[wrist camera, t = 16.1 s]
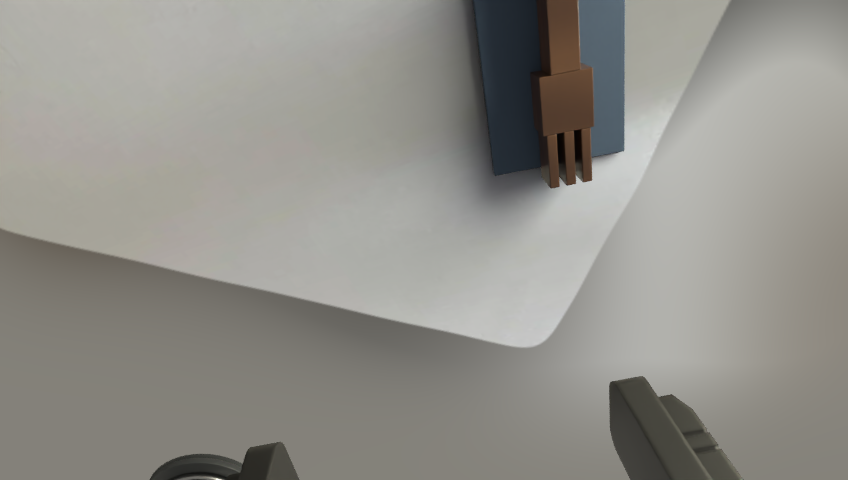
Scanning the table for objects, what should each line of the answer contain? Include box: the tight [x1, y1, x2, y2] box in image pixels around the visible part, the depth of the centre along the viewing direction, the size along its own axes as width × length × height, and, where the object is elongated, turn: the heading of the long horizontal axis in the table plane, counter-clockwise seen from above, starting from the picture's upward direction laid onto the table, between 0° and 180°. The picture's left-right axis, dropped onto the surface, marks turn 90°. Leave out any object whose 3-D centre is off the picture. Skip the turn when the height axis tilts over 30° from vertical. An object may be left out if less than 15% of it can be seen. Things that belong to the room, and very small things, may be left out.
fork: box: [530, 0, 594, 188], centre depth 34 cm, size 18×4×2 cm, turn 10°
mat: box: [473, 0, 625, 176], centre depth 35 cm, size 18×10×1 cm, turn 10°
